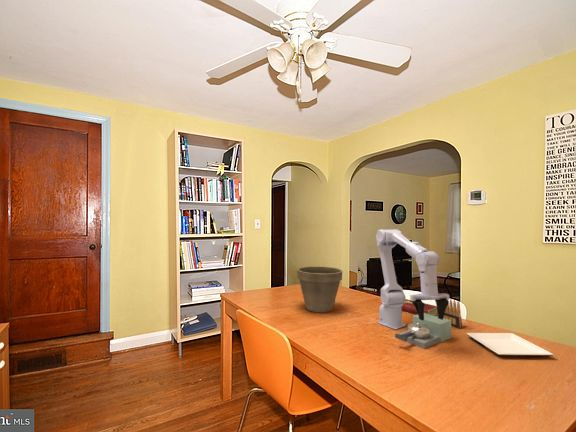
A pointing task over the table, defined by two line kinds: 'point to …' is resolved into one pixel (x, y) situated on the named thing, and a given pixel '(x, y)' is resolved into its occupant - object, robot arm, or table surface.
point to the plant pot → (319, 287)
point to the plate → (508, 344)
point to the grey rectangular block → (431, 331)
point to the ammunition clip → (453, 314)
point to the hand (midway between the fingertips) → (431, 319)
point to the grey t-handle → (415, 332)
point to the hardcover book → (410, 308)
